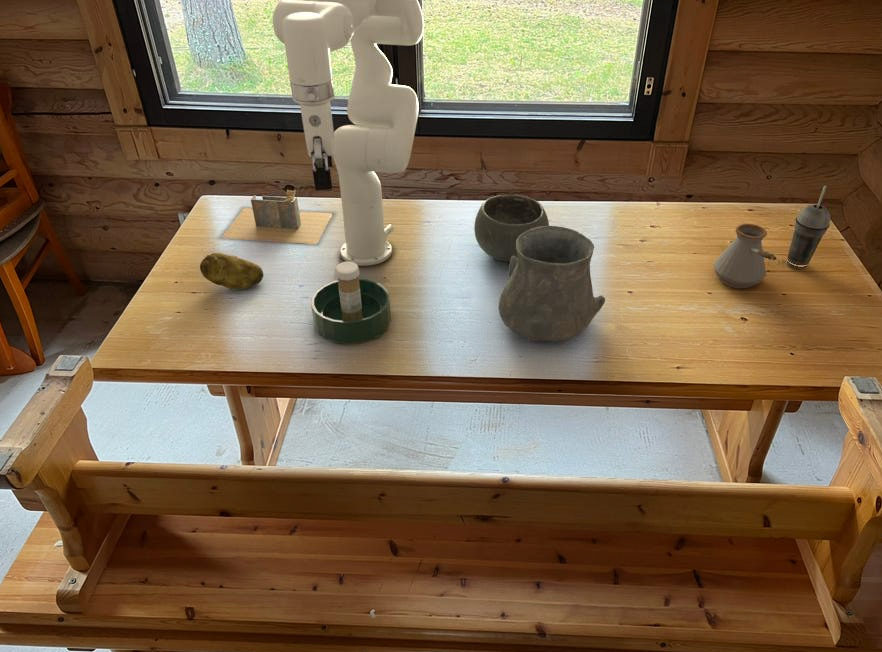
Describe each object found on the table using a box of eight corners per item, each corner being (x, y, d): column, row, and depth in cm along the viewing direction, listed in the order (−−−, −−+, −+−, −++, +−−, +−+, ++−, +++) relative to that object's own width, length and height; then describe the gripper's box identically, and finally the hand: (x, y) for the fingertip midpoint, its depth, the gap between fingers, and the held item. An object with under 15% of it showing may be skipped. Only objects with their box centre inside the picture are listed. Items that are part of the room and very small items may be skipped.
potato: (254, 298, 155) (247, 268, 150) (200, 292, 156) (192, 262, 151) (268, 278, 161) (262, 248, 156) (216, 273, 163) (209, 243, 158)
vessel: (609, 358, 139) (625, 273, 126) (499, 356, 139) (504, 272, 126) (593, 297, 155) (606, 217, 142) (495, 295, 156) (499, 216, 143)
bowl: (528, 231, 178) (532, 186, 170) (558, 267, 165) (564, 219, 157) (463, 242, 174) (464, 196, 166) (489, 279, 161) (491, 231, 153)
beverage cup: (779, 269, 164) (807, 192, 151) (780, 254, 169) (807, 178, 157) (812, 275, 162) (843, 197, 149) (812, 260, 167) (842, 184, 154)
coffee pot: (705, 265, 166) (721, 208, 156) (754, 266, 165) (773, 210, 155) (727, 317, 149) (747, 258, 140) (781, 319, 149) (805, 260, 139)
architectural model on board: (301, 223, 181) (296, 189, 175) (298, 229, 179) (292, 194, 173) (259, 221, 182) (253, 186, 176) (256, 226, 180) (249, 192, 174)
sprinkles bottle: (360, 312, 150) (355, 258, 141) (365, 324, 146) (360, 270, 138) (339, 316, 148) (333, 263, 140) (344, 328, 145) (338, 274, 136)
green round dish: (328, 297, 155) (325, 274, 151) (398, 304, 153) (397, 281, 149) (304, 341, 143) (300, 317, 139) (380, 349, 141) (378, 326, 137)
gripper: (333, 106, 118) (343, 197, 129) (333, 72, 131) (343, 158, 142) (289, 108, 117) (303, 199, 128) (293, 74, 130) (306, 160, 141)
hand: (324, 177), depth 135 cm, fingers open, 9 cm apart
